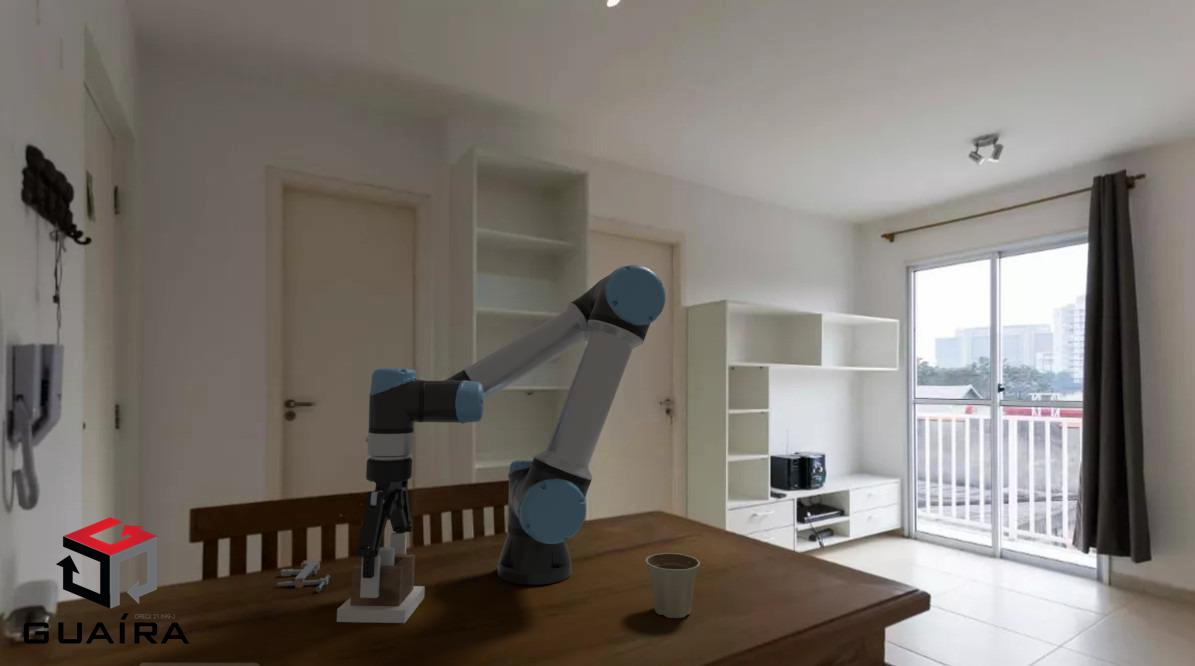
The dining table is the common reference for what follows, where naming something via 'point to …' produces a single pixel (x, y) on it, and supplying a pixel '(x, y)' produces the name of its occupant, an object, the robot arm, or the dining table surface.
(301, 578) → the clamp
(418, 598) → the post block
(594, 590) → the dining table surface
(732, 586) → the dining table surface
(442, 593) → the dining table surface
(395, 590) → the open brown box
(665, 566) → the flower pot
